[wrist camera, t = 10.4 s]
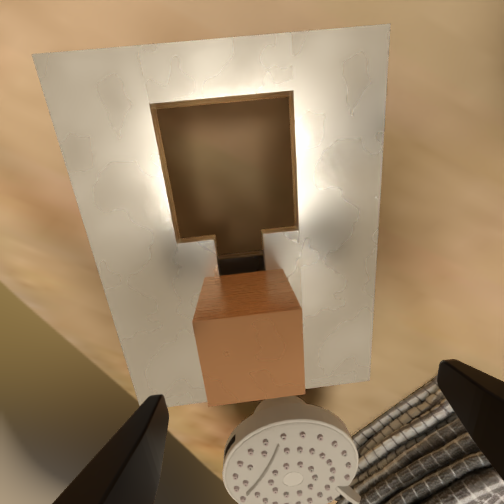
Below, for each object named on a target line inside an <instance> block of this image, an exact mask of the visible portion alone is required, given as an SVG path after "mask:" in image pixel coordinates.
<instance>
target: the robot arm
mask: <svg viewBox="0 0 504 504" xmlns="http://www.w3.org/2000/svg"><path fill="white" fill-rule="evenodd" d="M437 384H438V387H439V389H440V390H441V392H442V393H443V395H444V396H445V398H446V400H447V401H448V403H449V404H450V406H451V407H452V409H453V411H454V412H455V414H456V415H457V417H458V418H459V420H460V421H461V423H462V425H463V426H464V428H465V429H466V431H467V432H468V434H469V435H470V437H471V438H472V440H473V441H474V442H475V444H476V445H477V446H478V448H479V449H480V450H481V452H482V453H483V454H484V456H485V457H486V458H487V460H488V461H489V462H490V464H491V465H492V466H493V468H494V469H495V470H496V472H497V473H498V474H499V476H500V477H501V478H502V480H503V481H504V382H503V381H501V380H499V379H497V378H495V377H492V376H490V375H488V374H486V373H484V372H482V371H479V370H477V369H475V368H473V367H471V366H469V365H467V364H464V363H462V362H460V361H458V360H455V359H450V360H443V361H441V362H440V364H439V370H438V375H437ZM168 422H169V413H168V409H167V405H166V401H165V397H164V395H163V394H156V395H150V396H149V397H148V398H147V399H146V400H145V401H144V402H143V403H142V404H141V405H140V407H139V408H138V409H137V410H136V411H135V412H134V413H133V414H132V415H131V417H130V418H129V419H128V420H127V421H126V422H125V423H124V424H123V425H122V427H121V428H120V429H119V430H118V431H117V432H116V433H115V434H114V435H113V437H112V438H111V439H110V440H109V441H108V442H107V443H106V444H105V445H104V447H103V448H102V449H101V450H100V451H99V452H98V453H97V454H96V456H95V457H94V458H93V459H92V460H91V461H90V462H89V463H88V464H87V466H86V467H85V468H84V469H83V470H82V471H81V472H80V473H79V474H78V476H77V477H76V478H75V479H74V480H73V481H72V482H71V483H70V484H69V486H68V487H67V488H66V489H65V490H64V491H63V492H62V493H61V494H60V496H59V497H58V498H57V499H56V500H55V501H54V502H53V503H52V504H154V500H155V496H156V492H157V488H158V484H159V479H160V473H161V468H162V461H163V454H164V448H165V441H166V435H167V428H168Z"/></svg>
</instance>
